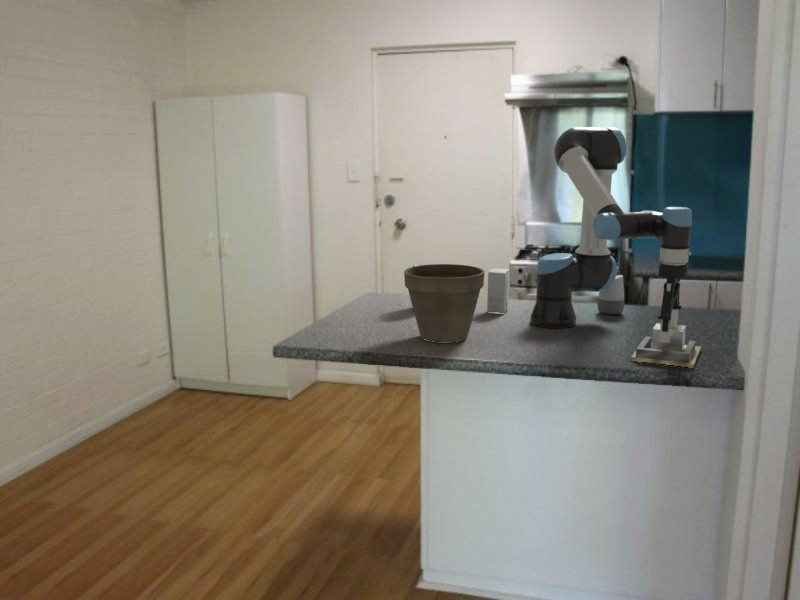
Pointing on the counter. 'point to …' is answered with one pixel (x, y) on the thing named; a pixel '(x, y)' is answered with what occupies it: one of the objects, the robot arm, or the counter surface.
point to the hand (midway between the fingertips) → (668, 336)
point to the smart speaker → (612, 298)
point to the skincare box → (498, 290)
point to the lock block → (675, 338)
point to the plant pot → (444, 299)
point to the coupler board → (690, 365)
